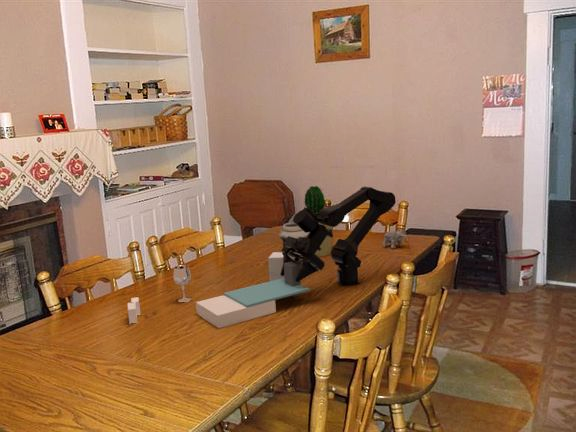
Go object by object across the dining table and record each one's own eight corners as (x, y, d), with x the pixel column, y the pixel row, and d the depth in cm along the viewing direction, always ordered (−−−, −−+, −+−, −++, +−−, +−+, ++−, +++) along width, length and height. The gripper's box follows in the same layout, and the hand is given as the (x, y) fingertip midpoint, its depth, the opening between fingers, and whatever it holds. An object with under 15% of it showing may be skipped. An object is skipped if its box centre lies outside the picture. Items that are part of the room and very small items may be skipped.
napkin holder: (136, 328, 179) (134, 311, 178) (107, 325, 184) (105, 308, 183) (165, 311, 193) (163, 295, 192) (136, 308, 197) (135, 292, 196)
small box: (284, 285, 211) (282, 257, 209) (269, 285, 212) (267, 257, 210) (289, 278, 218) (287, 251, 216) (274, 279, 219) (272, 251, 217)
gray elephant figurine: (388, 244, 261) (386, 228, 259) (414, 244, 255) (413, 227, 253) (381, 250, 253) (379, 232, 252) (407, 250, 247) (406, 232, 245)
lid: (284, 287, 204) (282, 258, 202) (310, 298, 191) (308, 267, 189) (224, 303, 192) (221, 272, 190) (247, 316, 179) (245, 283, 177)
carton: (251, 299, 197) (250, 288, 197) (275, 312, 184) (275, 300, 183) (197, 314, 187) (195, 302, 186) (218, 328, 174) (217, 315, 173)
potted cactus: (342, 250, 255) (338, 182, 249) (325, 259, 242) (321, 187, 236) (311, 247, 263) (307, 181, 257) (293, 256, 250) (289, 187, 245)
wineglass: (195, 298, 203) (192, 264, 201) (187, 303, 198) (184, 269, 195) (181, 297, 205) (177, 264, 203) (173, 302, 200) (169, 269, 197)
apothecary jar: (276, 272, 228) (273, 227, 225) (288, 263, 239) (285, 220, 236) (305, 273, 224) (302, 227, 220) (316, 264, 235) (313, 221, 231)
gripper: (284, 223, 202) (258, 259, 199) (314, 230, 187) (288, 271, 183) (304, 241, 208) (280, 277, 204) (335, 250, 192) (310, 289, 189)
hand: (288, 278), depth 195 cm, fingers open, 9 cm apart
